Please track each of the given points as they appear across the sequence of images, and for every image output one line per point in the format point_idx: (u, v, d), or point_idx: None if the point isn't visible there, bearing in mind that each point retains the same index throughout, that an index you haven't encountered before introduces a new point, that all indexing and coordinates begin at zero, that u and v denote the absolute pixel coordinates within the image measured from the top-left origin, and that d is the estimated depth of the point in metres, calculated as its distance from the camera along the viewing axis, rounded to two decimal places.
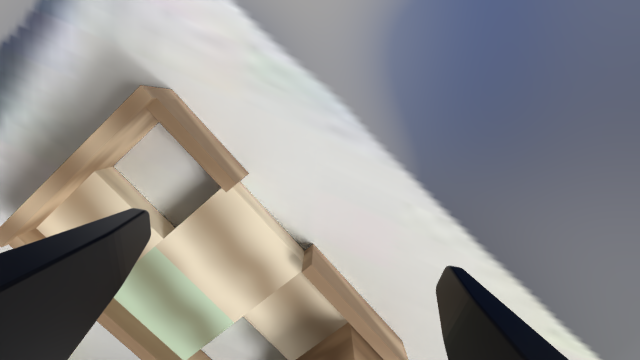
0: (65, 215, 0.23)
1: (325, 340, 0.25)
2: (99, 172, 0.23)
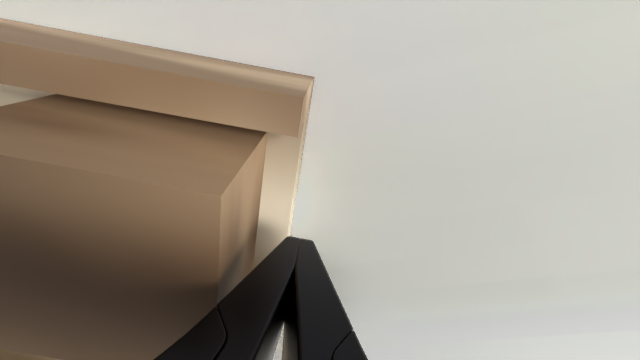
0: None
1: None
2: None
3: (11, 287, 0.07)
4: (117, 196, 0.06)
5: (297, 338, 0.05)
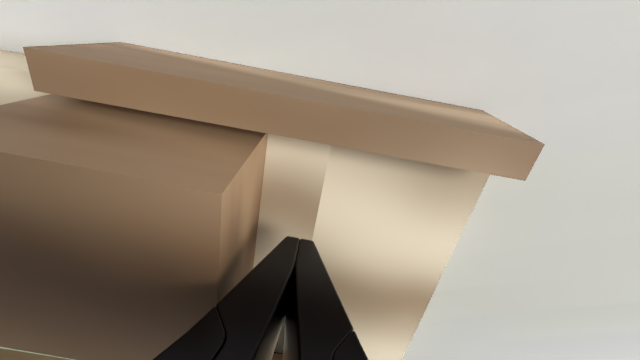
0: None
1: None
2: None
3: (12, 284, 0.07)
4: (118, 194, 0.06)
5: (298, 338, 0.05)
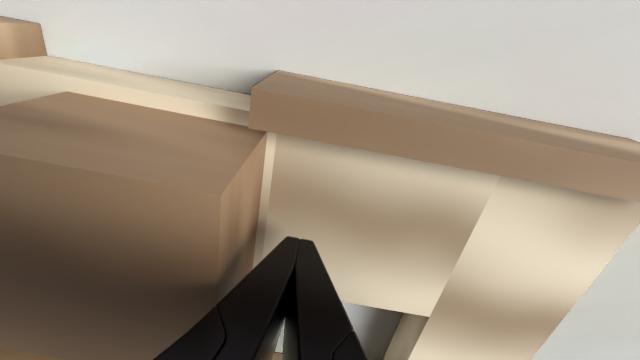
0: None
1: None
2: None
3: (11, 286, 0.07)
4: (118, 195, 0.06)
5: (297, 338, 0.05)
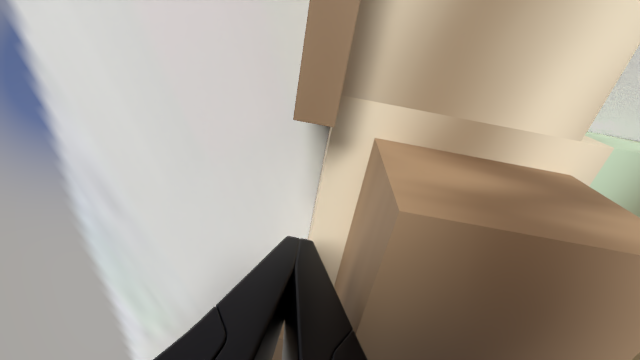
0: None
1: None
2: None
3: None
4: (392, 293, 0.06)
5: (297, 338, 0.05)
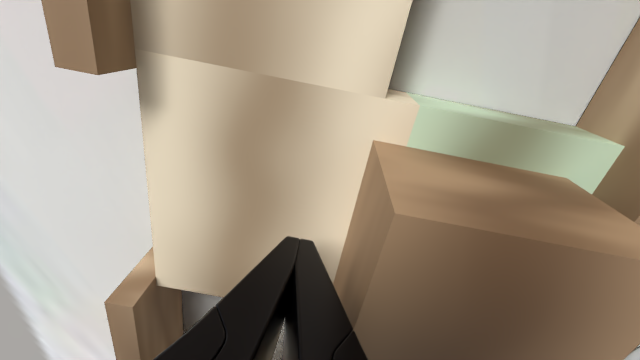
0: None
1: None
2: None
3: None
4: (387, 293, 0.06)
5: (297, 338, 0.05)
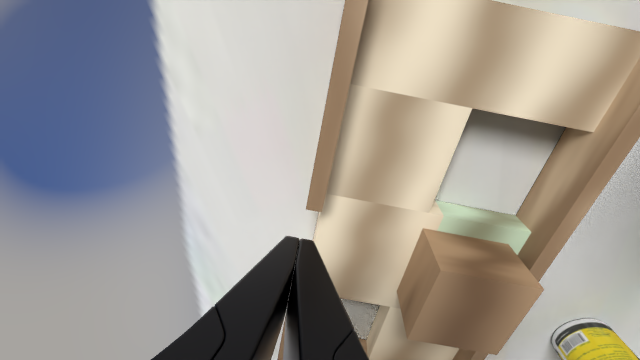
0: None
1: None
2: (368, 355, 0.27)
3: (467, 335, 0.19)
4: (435, 295, 0.18)
5: (298, 338, 0.05)
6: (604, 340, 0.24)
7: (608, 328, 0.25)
